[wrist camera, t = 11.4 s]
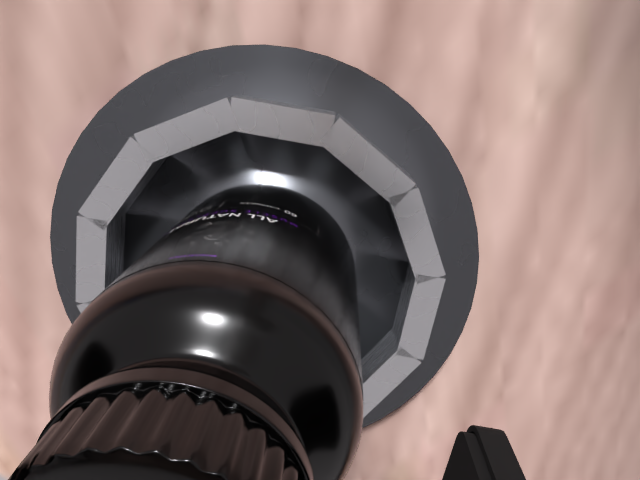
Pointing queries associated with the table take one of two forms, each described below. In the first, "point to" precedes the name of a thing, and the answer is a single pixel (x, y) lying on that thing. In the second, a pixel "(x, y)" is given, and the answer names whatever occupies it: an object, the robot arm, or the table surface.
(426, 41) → the table surface
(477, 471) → the robot arm
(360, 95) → the rosette plate
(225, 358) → the supplement bottle
